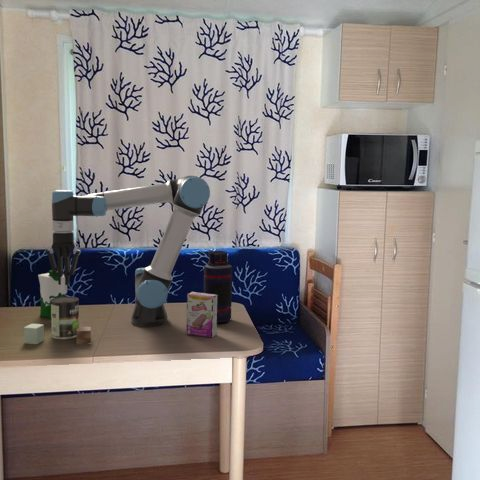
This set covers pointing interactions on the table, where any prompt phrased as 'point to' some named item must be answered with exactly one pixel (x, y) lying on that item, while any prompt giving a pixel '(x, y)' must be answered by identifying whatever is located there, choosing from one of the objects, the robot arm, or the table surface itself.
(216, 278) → the dark capped bottle
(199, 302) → the candy bar box
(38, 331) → the sage block
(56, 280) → the milk carton
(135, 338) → the table surface
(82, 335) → the brown wooden cube
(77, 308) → the coffee can
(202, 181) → the robot arm
